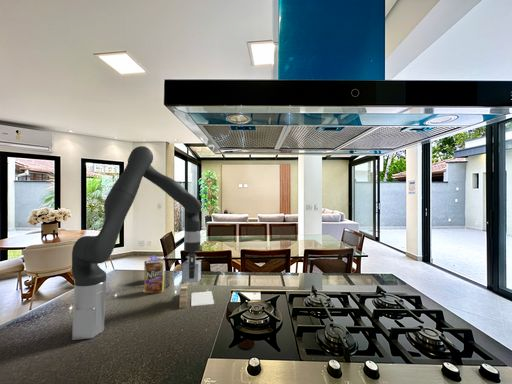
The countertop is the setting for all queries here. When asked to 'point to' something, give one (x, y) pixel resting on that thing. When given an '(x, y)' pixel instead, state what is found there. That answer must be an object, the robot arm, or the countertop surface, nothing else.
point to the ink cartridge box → (152, 260)
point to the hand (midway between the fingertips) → (191, 276)
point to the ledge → (183, 296)
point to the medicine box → (186, 272)
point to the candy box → (154, 276)
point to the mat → (202, 299)
